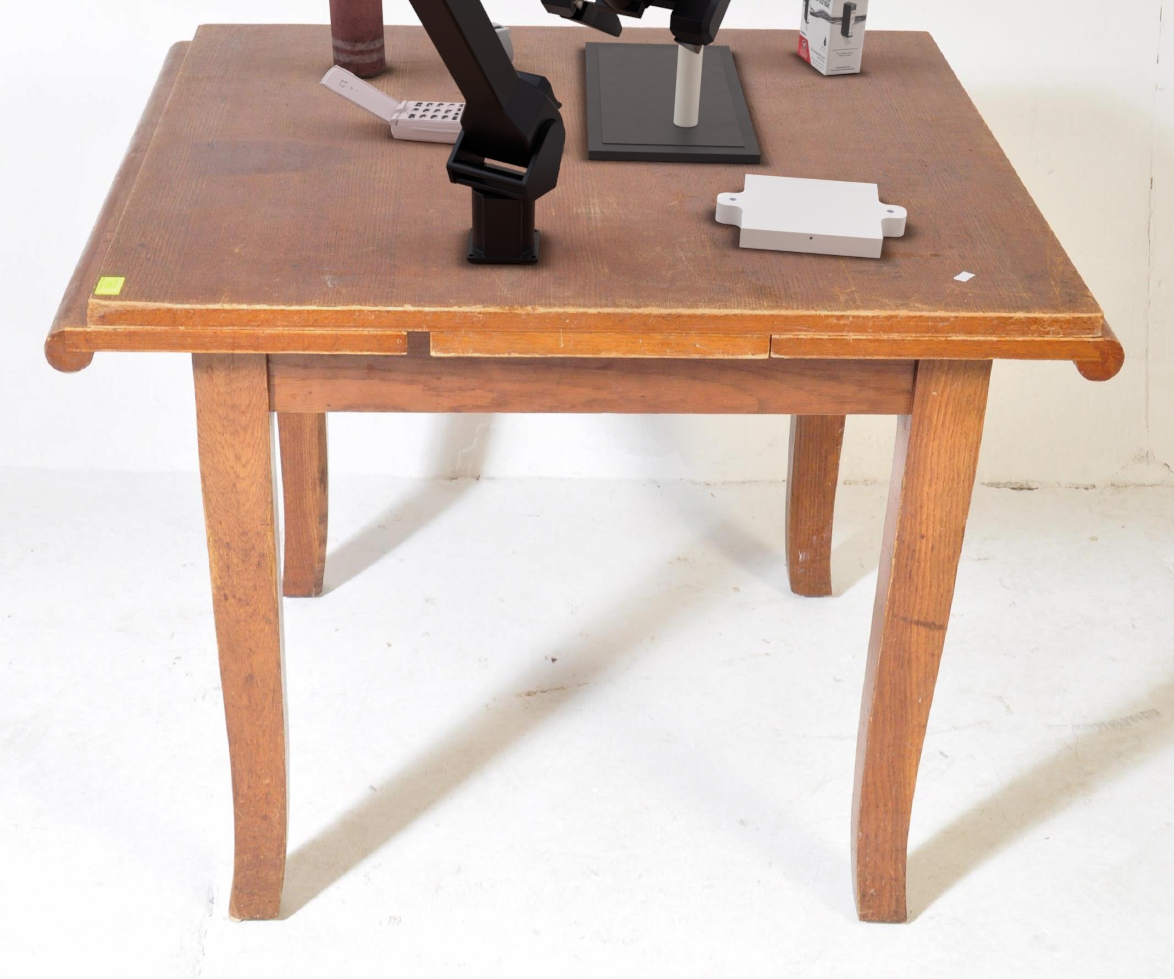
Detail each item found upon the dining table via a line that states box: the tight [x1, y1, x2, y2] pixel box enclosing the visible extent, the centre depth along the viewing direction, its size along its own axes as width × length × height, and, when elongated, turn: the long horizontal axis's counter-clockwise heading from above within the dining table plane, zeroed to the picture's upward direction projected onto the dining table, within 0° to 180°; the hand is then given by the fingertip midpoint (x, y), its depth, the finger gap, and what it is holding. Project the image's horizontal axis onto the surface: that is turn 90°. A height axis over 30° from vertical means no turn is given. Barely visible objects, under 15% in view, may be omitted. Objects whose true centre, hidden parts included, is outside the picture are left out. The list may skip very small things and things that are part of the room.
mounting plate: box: [715, 173, 908, 259], centre depth 138 cm, size 18×13×2 cm
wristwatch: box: [491, 21, 515, 63], centre depth 171 cm, size 6×3×5 cm, turn 39°
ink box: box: [797, 0, 870, 76], centre depth 174 cm, size 8×5×12 cm, turn 17°
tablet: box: [584, 41, 762, 165], centre depth 165 cm, size 36×18×1 cm, turn 1°
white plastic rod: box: [674, 44, 703, 127], centre depth 152 cm, size 3×3×14 cm
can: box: [328, 0, 387, 79], centre depth 167 cm, size 6×6×14 cm
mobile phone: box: [318, 65, 466, 145], centre depth 153 cm, size 6×6×25 cm
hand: (658, 41), depth 146 cm, fingers open, 9 cm apart
